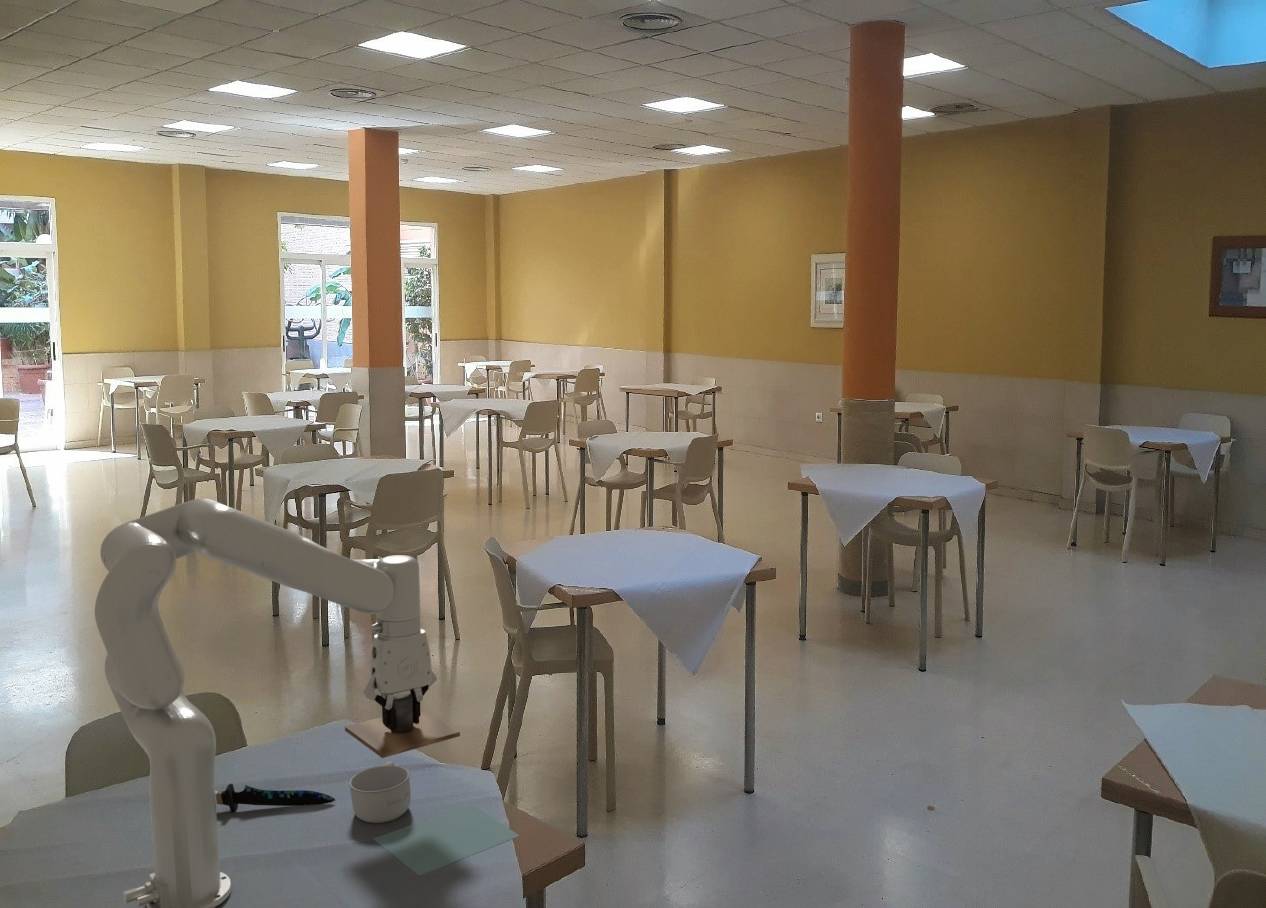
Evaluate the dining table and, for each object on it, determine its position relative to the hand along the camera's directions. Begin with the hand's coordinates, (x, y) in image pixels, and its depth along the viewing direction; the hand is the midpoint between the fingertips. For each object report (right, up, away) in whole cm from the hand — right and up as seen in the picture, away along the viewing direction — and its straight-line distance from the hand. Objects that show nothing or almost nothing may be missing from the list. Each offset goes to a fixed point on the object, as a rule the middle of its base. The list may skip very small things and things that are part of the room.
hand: (401, 723), depth 192 cm
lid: (0, -2, 0) cm, 2 cm away
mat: (+9, -20, -4) cm, 22 cm away
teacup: (-5, -19, +7) cm, 20 cm away
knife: (-30, -18, +9) cm, 36 cm away
